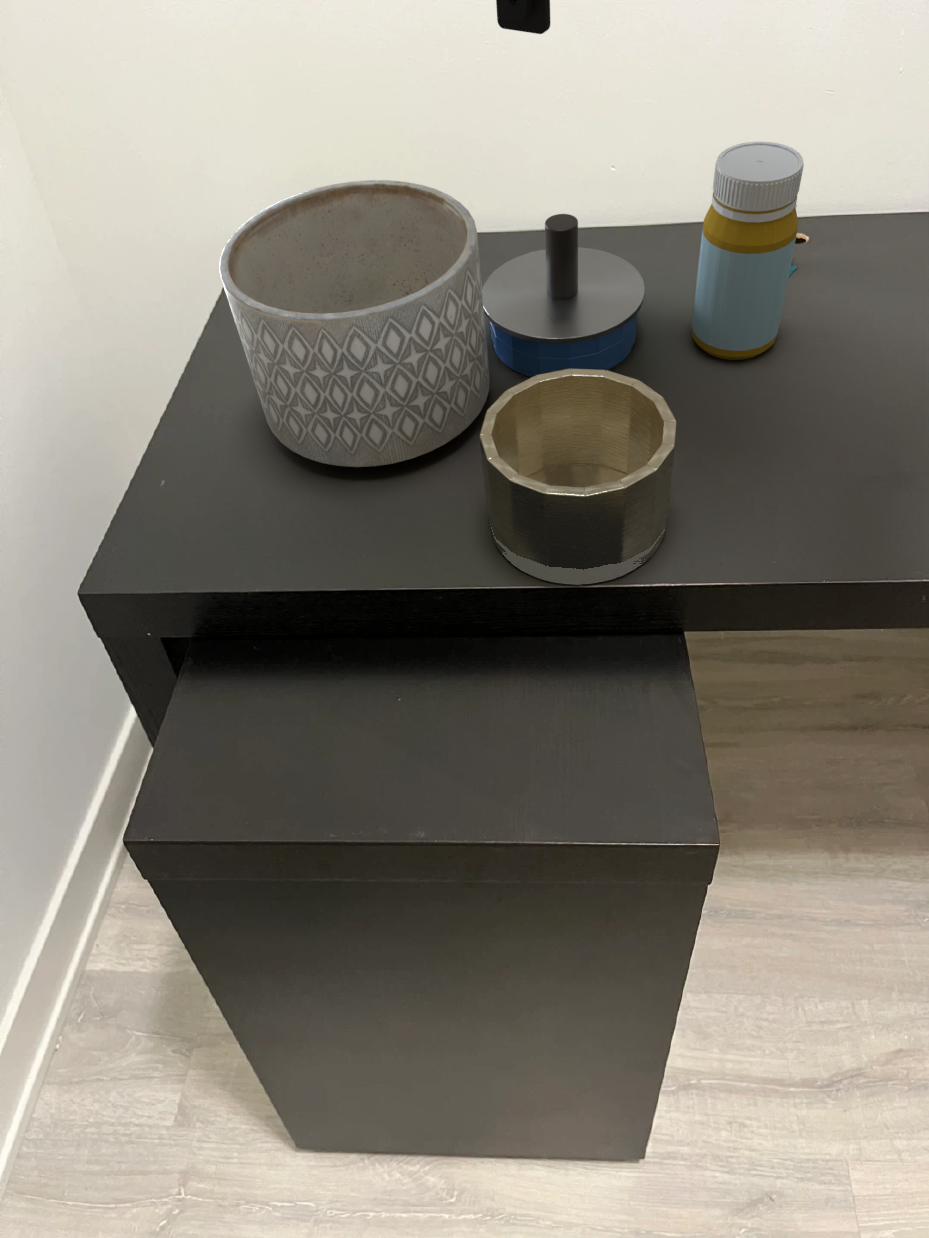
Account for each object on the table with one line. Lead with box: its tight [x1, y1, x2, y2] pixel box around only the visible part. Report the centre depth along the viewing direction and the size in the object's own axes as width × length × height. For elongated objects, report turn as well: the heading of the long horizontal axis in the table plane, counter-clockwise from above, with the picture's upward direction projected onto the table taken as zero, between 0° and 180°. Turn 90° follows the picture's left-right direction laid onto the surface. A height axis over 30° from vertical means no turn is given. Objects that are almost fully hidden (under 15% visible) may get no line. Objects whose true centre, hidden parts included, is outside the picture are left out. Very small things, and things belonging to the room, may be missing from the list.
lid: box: [482, 213, 646, 344], centre depth 77 cm, size 14×14×7 cm
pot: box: [479, 369, 678, 570], centre depth 65 cm, size 13×13×8 cm
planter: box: [218, 179, 491, 468], centre depth 73 cm, size 19×19×14 cm
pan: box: [489, 312, 639, 378], centre depth 81 cm, size 12×12×4 cm
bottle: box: [691, 141, 805, 361], centre depth 74 cm, size 7×7×15 cm
